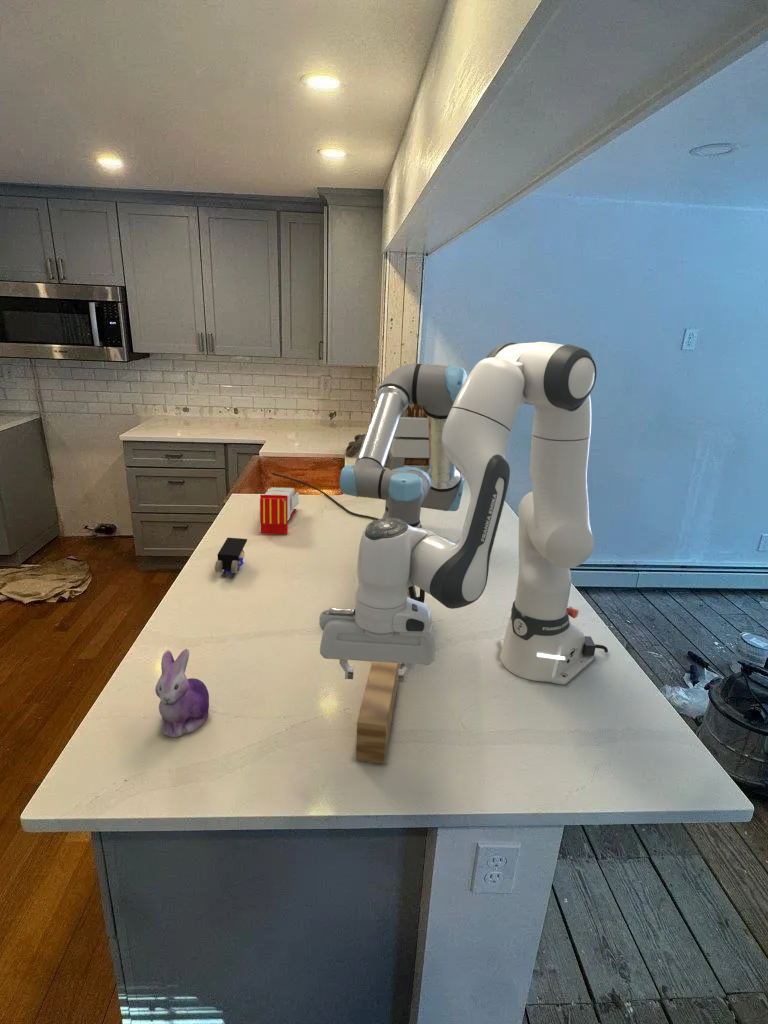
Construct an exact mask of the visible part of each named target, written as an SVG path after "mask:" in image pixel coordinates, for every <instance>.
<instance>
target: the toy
mask: <svg viewBox="0 0 768 1024" xmlns="http://www.w3.org/2000/svg"><path fill="white" fill-rule="evenodd" d="M299 494H300V493H299V491H297V492H296V493H295V488H294V487H270V488H269V489H268V490H267V491H266V492H265V493H264V494H259V520H260V521H259V524H260V534H266V535H272V534H273V535H288V534H289V532H288V531H289V530H288V527H289V524H288V523H289V522H288V521H289V519H290V518H292V517H293V516H294V514H295V513H296V511H297V506H298V505H299V503H300V496H299Z"/></svg>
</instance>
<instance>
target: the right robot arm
mask: <svg viewBox="0 0 768 1024" xmlns="http://www.w3.org/2000/svg"><path fill="white" fill-rule="evenodd" d="M597 374H598V373H597V366H596V363H595V360H594V358H593V356H592V354H591V352H589V350H587V349H585V348H583V347H581V346H578V345H574V344H570V343H567V344H560V343H554V342H549V341H548V342H546V341H536V342H535V341H534V342H521V343H517V342H508V343H503V344H500V345H497V346H495V347H494V348H493V349H492V350H491V351H490V352H488V354H487V355H486V357H485V358H483V359H481V360H479V361H478V362H477V363H476V364H475V365H474V366H473V368H472V369H471V371H470V373H469V374H468V375H467V379H466V380H465V382H464V384H463V386H462V387H461V389H460V391H459V393H458V395H457V397H456V399H455V401H454V404H453V406H452V408H451V410H450V413H449V415H448V417H447V420H446V422H445V425H444V428H443V433H442V444H443V448H444V451H445V453H446V455H447V457H448V458H449V460H450V461H451V462H452V464H453V465H454V466H455V467H456V468H457V469H458V470H459V471H460V472H461V474H462V476H463V478H464V479H465V480H466V481H467V483H468V486H469V490H470V500H469V505H468V508H467V512H466V515H465V519H464V522H463V526H462V530H461V534H460V537H459V540H458V542H457V543H455V542H453V541H451V540H449V539H447V538H444V537H443V536H441V535H439V534H437V533H436V532H433V531H431V530H428V529H426V528H423V527H422V528H420V527H412V526H410V525H408V524H407V523H406V522H405V521H403V520H401V519H397V518H383V517H382V518H378V520H373V521H371V522H370V523H368V524H367V525H366V526H365V527H364V530H363V532H362V535H361V537H360V541H359V546H358V553H357V562H356V563H357V565H356V566H357V567H356V574H357V579H358V585H357V587H356V591H355V599H354V600H355V602H354V608H337V607H329V608H328V609H325V610H323V611H322V612H321V614H320V615H319V621H318V622H319V628H320V629H321V631H322V634H321V639H320V645H319V646H320V647H319V654H320V656H322V657H323V659H327V660H339V665H340V667H341V668H342V670H343V672H344V673H345V674H344V679H345V680H354V675H355V666H354V665H350V664H349V661H357V662H389V663H401V664H404V667H403V668H400V669H398V683H402V684H403V683H404V684H406V683H407V676H408V675H409V674H410V673H411V672H412V671H413V670H414V669H415V668H414V667H415V665H421V666H423V665H425V666H430V665H431V664H433V663H434V662H435V661H436V641H435V632H434V627H433V623H432V613H431V609H430V606H429V605H428V604H427V603H425V602H424V603H422V602H419V601H416V600H414V599H411V598H409V597H407V589H408V588H409V587H410V586H415V587H417V588H418V589H419V590H420V589H422V590H424V591H425V593H427V594H428V595H430V596H431V597H432V598H433V599H435V600H437V601H438V603H440V604H441V605H443V606H444V607H446V608H448V609H451V610H455V609H460V608H464V607H467V606H470V605H472V604H473V603H475V602H476V601H478V600H479V598H481V596H482V595H483V593H484V591H485V589H486V586H487V584H488V578H489V568H490V561H491V555H492V551H493V546H494V543H495V539H496V535H497V532H498V528H499V523H500V520H501V516H502V514H503V513H502V512H503V509H504V505H505V502H506V497H507V494H508V493H507V492H508V488H509V483H510V479H511V478H510V477H511V468H510V465H509V463H508V461H507V460H506V448H507V443H508V440H509V436H510V434H511V432H512V429H513V426H514V424H515V421H516V418H517V416H518V412H519V409H520V407H521V406H522V405H523V404H524V405H529V406H534V413H533V414H534V415H533V421H532V430H531V443H530V458H529V478H530V482H531V483H530V484H531V490H532V491H530V492H528V493H526V494H525V495H524V496H523V497H522V499H521V500H520V502H519V503H518V509H517V510H518V511H517V514H518V576H517V584H516V592H515V599H514V600H513V602H512V606H511V610H510V611H511V613H510V616H509V618H508V621H507V626H506V630H505V633H504V637H503V638H502V639H501V640H500V643H499V645H500V649H501V651H500V655H499V660H500V662H501V664H502V665H503V667H505V669H506V670H507V671H508V672H510V673H512V674H514V675H516V676H518V677H520V678H522V679H525V680H530V681H535V682H549V683H553V684H557V685H563V686H564V685H567V684H568V683H569V682H571V680H572V679H574V678H575V677H576V676H577V675H578V674H579V673H580V672H581V671H582V670H584V669H585V668H586V667H587V666H588V665H590V663H592V662H593V661H594V657H595V653H596V649H600V650H603V651H604V652H605V654H607V653H608V652H609V648H608V647H607V646H606V645H603V644H596V643H595V641H594V640H593V638H592V636H587V635H585V634H584V633H583V631H582V630H581V629H580V628H578V627H577V626H576V625H574V624H573V623H572V622H571V621H570V618H572V619H576V618H577V617H578V615H579V610H578V609H576V608H574V607H572V606H570V607H568V605H569V599H570V593H571V586H572V573H571V569H572V568H576V567H579V566H581V565H582V564H584V563H585V562H586V561H587V560H588V559H589V558H590V557H591V555H592V553H593V552H594V547H595V539H594V535H593V531H592V527H591V518H590V517H591V516H590V501H589V491H588V466H589V465H588V463H589V455H590V443H591V435H592V434H591V433H592V400H591V399H592V398H591V394H592V391H593V390H594V387H595V385H596V381H597ZM569 616H570V617H569Z"/></svg>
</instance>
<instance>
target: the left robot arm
mask: <svg viewBox="0 0 768 1024" xmlns="http://www.w3.org/2000/svg"><path fill="white" fill-rule="evenodd" d="M467 377H468V375H467V372H466V370H465V369H464V367H462V366H454V365H452V364H447V365H441V364H427V363H417V362H413V363H406V364H404V365H401V366H399V367H397V368H396V369H394V370H393V371H391V372H390V373H389V374H388V375H387V376H386V377H385V378H384V379H383V380H382V382H381V383H380V385H379V387H378V389H377V391H376V393H375V401H376V404H375V407H374V410H373V412H372V415H371V418H370V421H369V424H368V427H367V430H366V432H365V434H366V435H365V437H364V440H363V443H362V446H361V448H360V451H359V452H358V453H357V456H356V460H355V463H354V464H351V465H344V467H342V469H341V472H340V475H339V489H340V491H341V493H342V494H344V495H347V496H351V497H355V498H366V499H367V498H368V499H375V500H376V499H378V500H384V501H385V504H384V505H385V507H384V508H385V509H384V513H383V515H382V518H397V519H401V520H403V521H405V522H406V523H407V524H408V525H410V526H412V527H420V528H423V525H422V524H421V511H422V510H421V509H428V510H429V509H430V510H436V511H444V512H456V511H458V510H459V508H460V504H461V501H462V495H463V490H464V486H465V480H466V478H465V477H461V474H460V473H459V472H458V470H457V469H456V467H455V466H454V465H453V464H452V462H451V461H450V460H449V458H448V457H447V455H446V453H445V451H444V448H443V444H442V433H443V428H444V425H445V422H446V420H447V417H448V415H449V413H450V410H451V408H452V406H453V404H454V401H455V399H456V397H457V395H458V393H459V391H460V389H461V387H462V386H463V384H464V382H465V380H466V379H467ZM409 404H414V405H423V411H424V413H425V415H427V416H428V426H429V465H428V467H429V468H428V469H427V471H424V470H423V469H421V468H420V467H417V466H404V467H401V468H396V469H393V470H390V469H385V467H386V466H385V464H386V461H387V458H388V455H389V452H390V448H391V445H392V442H393V439H394V436H395V433H396V430H397V427H398V424H399V421H400V417H401V414H402V412H403V411H405V410H406V409H407V407H408V405H409ZM271 475H273V476H276V477H279V478H283V479H287V480H290V481H293V482H297V483H300V484H302V485H305V486H308V487H309V488H312V489H313V490H316V491H318V492H319V493H321V494H323V495H324V496H325V497H327V499H329V500H330V501H332V502H333V503H335V505H337V506H338V507H340V508H341V509H343V510H344V511H345V512H347V513H348V514H350V515H352V516H356V517H361V518H365V519H366V518H367V519H371V520H373V521H375V520H378V519H379V518H378V517H375V516H370V515H365V514H361V513H356V512H353V511H351V510H349V509H347V508H346V507H345V506H344V505H342V504H341V503H339V502H338V501H337V500H335V499H334V498H333V497H332V496H331V495H329V494H327V493H326V492H324V491H323V490H321V489H319V488H317V487H316V486H314V485H311V484H309V483H307V482H304V481H301V480H299V479H295V478H292V477H289V476H285V475H281V474H279V473H274V472H271ZM408 590H409V594H410V598H411V599H414V600H416V601H419V602H422V603H425V598H426V592H425V591H424V590H422V589H420V588H419V596H417V592H416V586H415V585H414V586H410V587H409V588H408Z"/></svg>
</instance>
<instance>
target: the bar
mask: <svg viewBox="0 0 768 1024" xmlns="http://www.w3.org/2000/svg"><path fill="white" fill-rule="evenodd" d="M407 597H409V598H410V594H409V590H408V589H407ZM398 669H402V663H389V662H373V661H371V666H370V670H369V674H368V678H367V682H366V686H365V690H364V692H363V697H362V701H361V705H360V709H359V713H358V717H357V722H356V742H355V743H356V744H355V760H356V761H362V762H370V763H377V764H385V760H386V755H387V749H388V742H389V738H390V731H391V726H392V719H393V714H394V707H395V702H396V697H397V696H396V695H397V691H398V685H399V682H398Z"/></svg>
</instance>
